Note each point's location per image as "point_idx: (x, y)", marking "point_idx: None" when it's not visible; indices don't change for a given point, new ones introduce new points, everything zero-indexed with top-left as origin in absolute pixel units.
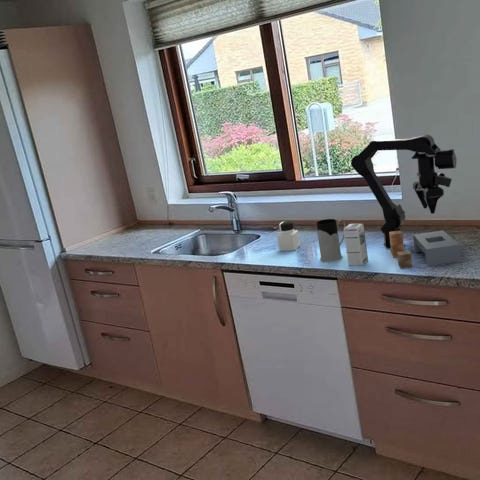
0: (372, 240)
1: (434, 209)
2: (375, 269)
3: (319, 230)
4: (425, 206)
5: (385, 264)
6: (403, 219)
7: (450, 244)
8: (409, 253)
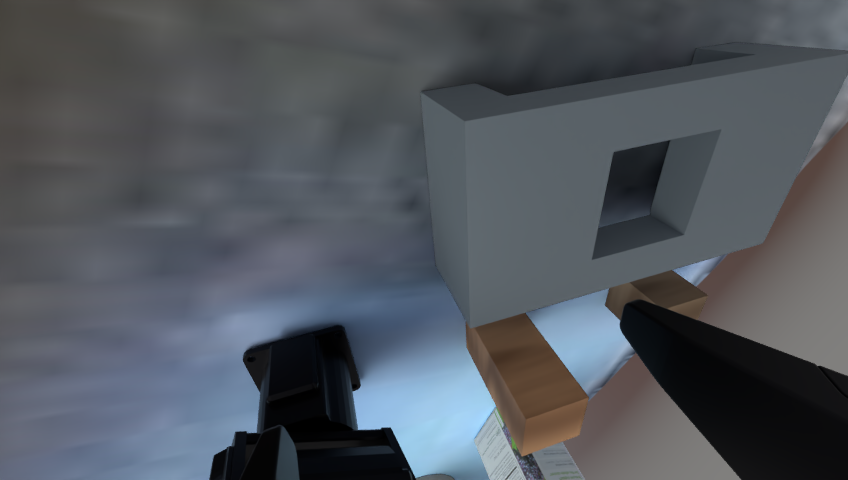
0: (176, 466)
1: (704, 333)
2: (598, 363)
3: None
4: (290, 467)
5: (569, 345)
6: (326, 477)
7: (807, 112)
8: (702, 301)
